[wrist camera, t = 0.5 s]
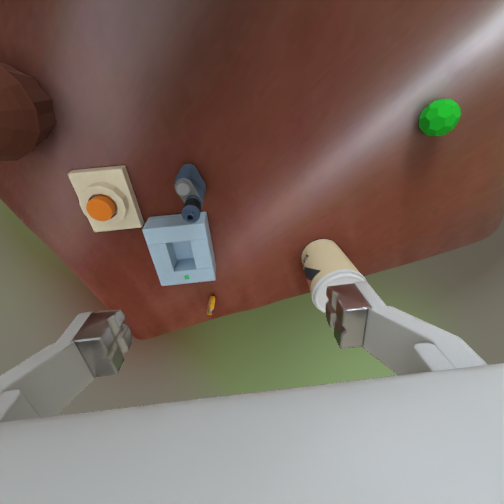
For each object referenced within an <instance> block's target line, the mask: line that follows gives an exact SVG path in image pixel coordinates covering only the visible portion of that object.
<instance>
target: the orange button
mask: <svg viewBox="0 0 504 504" xmlns="http://www.w3.org/2000/svg"><path fill="white" fill-rule="evenodd" d="M86 209H87V212H88V214H89V215H90V216H91V217H92V218H94V219H95V220H98V221H107V220H109V219H110V218H111V217H112V216H113V214H114V213H115V211H116V205H115V203H114V202H113V200H112V199H110V198H109V197H107V196H105V195H96V196H94V197H93V198H92V199H91V200H90V201H89V202H88V203H87V205H86Z"/></svg>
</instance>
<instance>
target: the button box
mask: <svg viewBox="0 0 504 504" xmlns="http://www.w3.org/2000/svg"><path fill="white" fill-rule="evenodd" d="M67 174H68V177H69V179H70V181H71V183H72V185H73V187H74V189H75V192H76V194H77V196H78V198H79V200H80V201H79V204H80V207H81V209H82V211H83V213H84V214H85V215H86V216H87V217H88V219H89V222H90V224H91V226H92V228H93V230H94V232H100V231H110V230H120V229H130V228H140V227H142V226H143V224H144V220H143V217H142V214H141V211H140V208H139V205H138V202H137V199H136V196H135V193H134V190H133V187H132V184H131V181H130V178H129V175H128V172H127V169H126V166H125V165H122V166H111V167H100V168H90V169H79V170H72V171H71V172H69V173H67ZM96 195H105V196H107V197H109V198H110V199H112V200H113V202H114V203H115V205H116V211H115V213H114V214H113V216H112V217H111V218H110V219H109V220H107V221H98V220H95V219H94V218H92V217H91V216H90V215H89V214H88V212H87V209H86V205H87V203H88V202H89V201H90V200H91V199H92V198H93V197H94V196H96Z"/></svg>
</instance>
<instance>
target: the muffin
mask: <svg viewBox="0 0 504 504" xmlns="http://www.w3.org/2000/svg"><path fill="white" fill-rule="evenodd" d="M55 124H56V119H55V116H54V112H53V104H52V99H51V98H50V97H49V96H48V95H47V94H46V93H45V92H44V91H43V89H42V88H41V87H40V85H39V84H38V82H37V81H36V80H35V78H34V77H31V76H29V75H27V74H24V73H22V72H20V71H18V70H17V69H15V68H13V67H12V66H10V65H7V64H4V63H1V62H0V161H9V160H18V159H20V158H21V157H23V156H25V155H26V154H28V153H30V152H31V151H33V149H34V147H35V146H37V145H38V144H39V143H40V142H42V141H43V140H44V139H46V138H47V137H48V134H49V132H50V130H51V128H52V127H53V126H54V125H55Z"/></svg>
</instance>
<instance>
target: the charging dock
mask: <svg viewBox="0 0 504 504" xmlns="http://www.w3.org/2000/svg"><path fill="white" fill-rule="evenodd" d="M142 231H143V234H144V236H145V239H146V242H147V245H148V248H149V251H150V254H151V257H152V260H153V263H154V266H155V268H156V271H157V274H158V277H159V280H160V283H161V286H167V285H176V284H185V283H195V282H204V281H214V280H216V262H215V256H214V251H213V246H212V240H211V235H210V229H209V224H208V218H207V213H206V212H201V213H200V218H199V220H198V221H196V222H194V223H189V222H187V221H185V220H184V219H183V217H182V214H175V215H165V216H155V217H149V218H148V220H147V221H146V223H145V225H144V227H143V229H142Z"/></svg>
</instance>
